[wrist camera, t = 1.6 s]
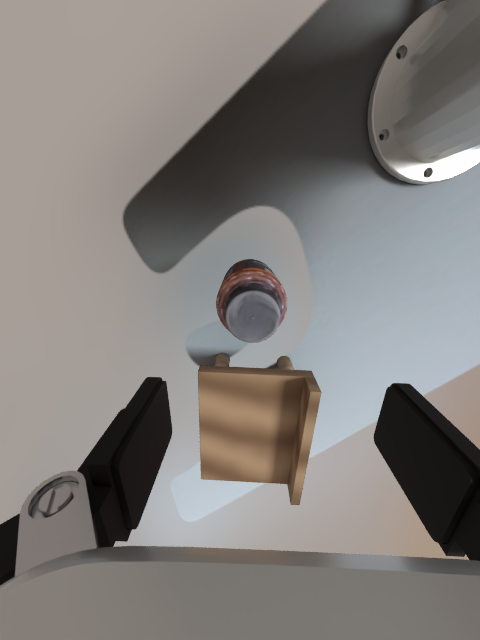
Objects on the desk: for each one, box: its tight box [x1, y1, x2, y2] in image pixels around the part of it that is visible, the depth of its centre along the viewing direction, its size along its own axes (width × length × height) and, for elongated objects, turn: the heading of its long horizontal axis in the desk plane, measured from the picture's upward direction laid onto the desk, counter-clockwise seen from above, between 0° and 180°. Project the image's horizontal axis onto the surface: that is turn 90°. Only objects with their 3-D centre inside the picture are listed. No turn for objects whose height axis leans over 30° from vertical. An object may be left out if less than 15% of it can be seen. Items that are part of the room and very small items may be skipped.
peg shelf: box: [198, 353, 321, 505], centre depth 29 cm, size 16×12×9 cm
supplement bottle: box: [216, 259, 287, 343], centre depth 22 cm, size 6×6×11 cm
